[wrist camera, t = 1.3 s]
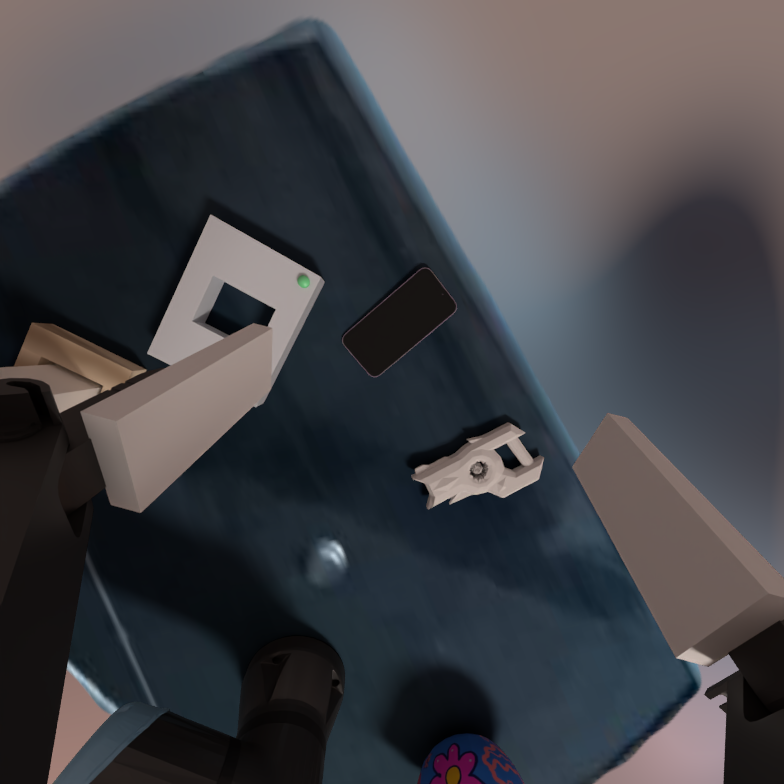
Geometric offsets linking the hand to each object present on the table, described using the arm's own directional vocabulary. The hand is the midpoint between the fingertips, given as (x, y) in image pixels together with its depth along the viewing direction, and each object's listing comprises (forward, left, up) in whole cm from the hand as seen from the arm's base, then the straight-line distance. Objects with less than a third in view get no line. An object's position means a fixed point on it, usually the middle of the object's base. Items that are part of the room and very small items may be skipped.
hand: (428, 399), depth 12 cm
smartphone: (+5, +1, -31) cm, 32 cm away
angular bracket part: (-7, -19, -31) cm, 37 cm away
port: (-4, +19, -31) cm, 36 cm away
